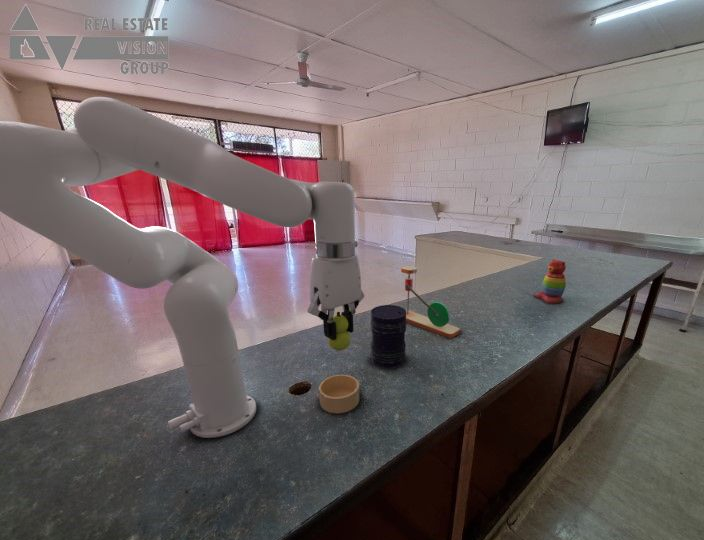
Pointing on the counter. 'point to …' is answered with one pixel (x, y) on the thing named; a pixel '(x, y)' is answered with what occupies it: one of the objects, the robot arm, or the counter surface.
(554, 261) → the stacking bear
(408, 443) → the counter surface
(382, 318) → the storage jar
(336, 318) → the pear plush
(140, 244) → the robot arm
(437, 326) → the crank mechanism
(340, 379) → the bowl
